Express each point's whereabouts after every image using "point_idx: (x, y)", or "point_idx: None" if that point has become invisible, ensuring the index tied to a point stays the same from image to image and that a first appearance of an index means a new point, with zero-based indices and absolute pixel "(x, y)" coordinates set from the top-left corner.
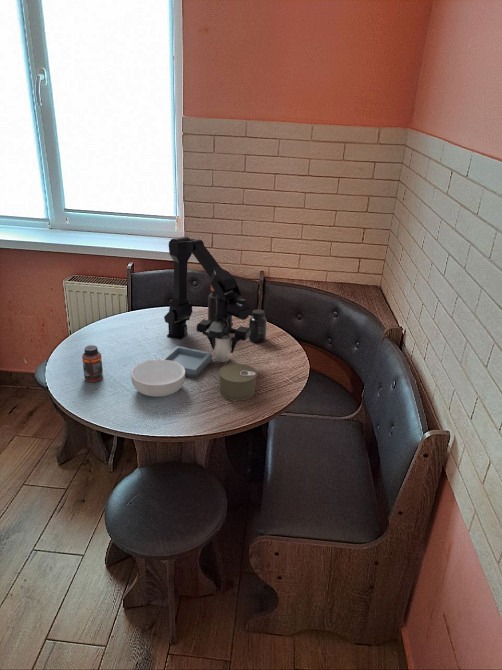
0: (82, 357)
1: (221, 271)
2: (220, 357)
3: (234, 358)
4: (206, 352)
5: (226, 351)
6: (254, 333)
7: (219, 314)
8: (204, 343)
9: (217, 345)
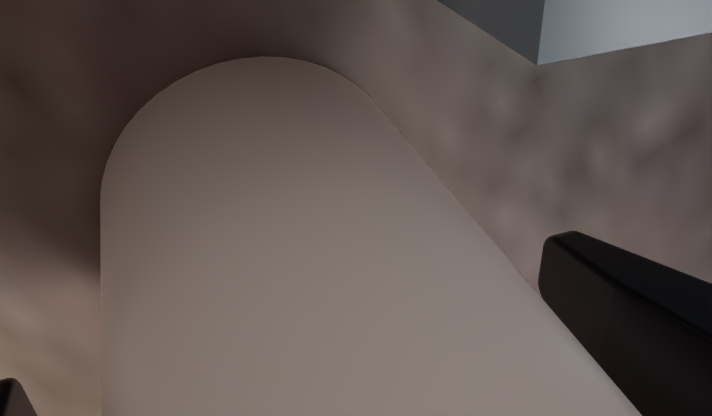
0: None
1: None
2: (252, 107)
3: (56, 344)
4: (687, 4)
5: (122, 329)
6: None
7: None
8: None
9: (537, 335)
